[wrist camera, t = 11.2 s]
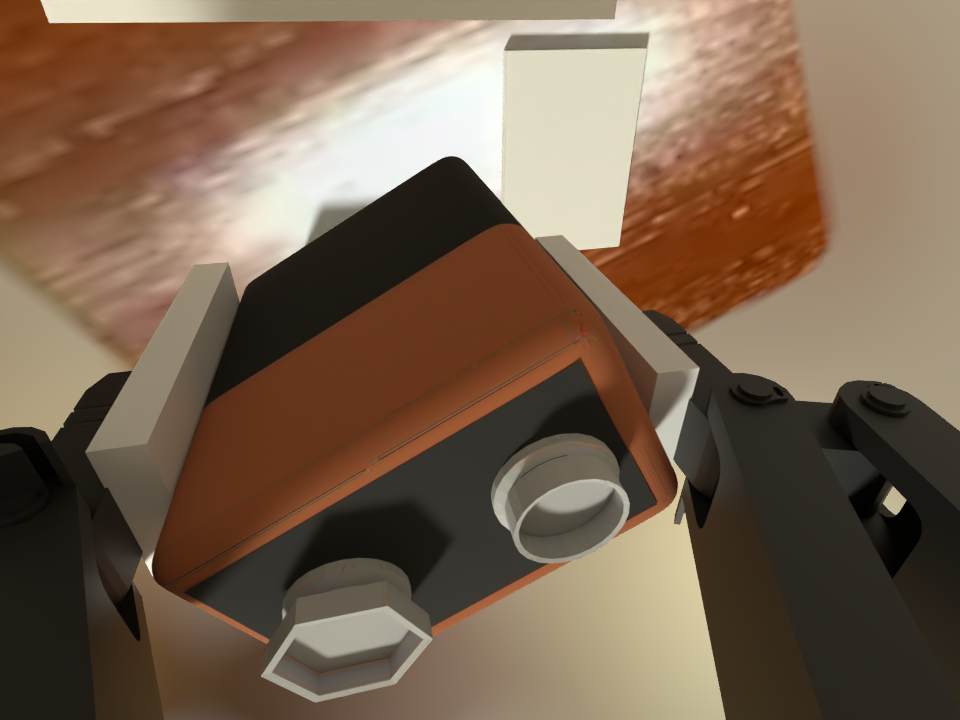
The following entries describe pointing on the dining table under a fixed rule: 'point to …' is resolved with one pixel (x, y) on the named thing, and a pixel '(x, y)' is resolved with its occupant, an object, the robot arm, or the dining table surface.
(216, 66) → the dining table surface
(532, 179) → the mat
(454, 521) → the battery
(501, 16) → the white u-shaped bracket
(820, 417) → the robot arm
